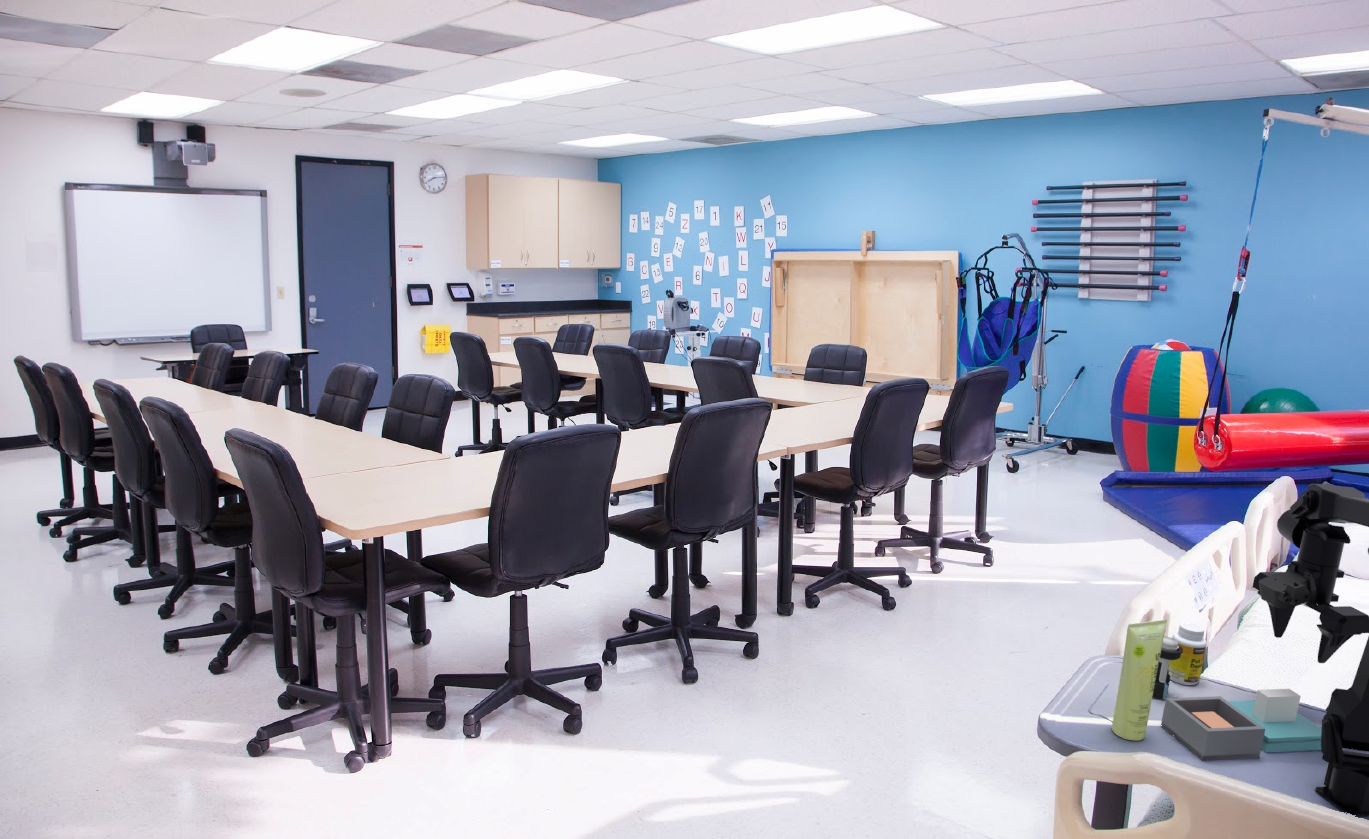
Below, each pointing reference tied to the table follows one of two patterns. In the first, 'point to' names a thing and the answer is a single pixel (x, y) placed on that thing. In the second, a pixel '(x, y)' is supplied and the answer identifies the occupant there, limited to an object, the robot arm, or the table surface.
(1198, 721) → the storage box
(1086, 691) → the table surface
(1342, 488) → the robot arm
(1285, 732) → the lid
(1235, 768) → the table surface
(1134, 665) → the tube
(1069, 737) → the table surface
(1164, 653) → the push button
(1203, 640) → the supplement bottle
